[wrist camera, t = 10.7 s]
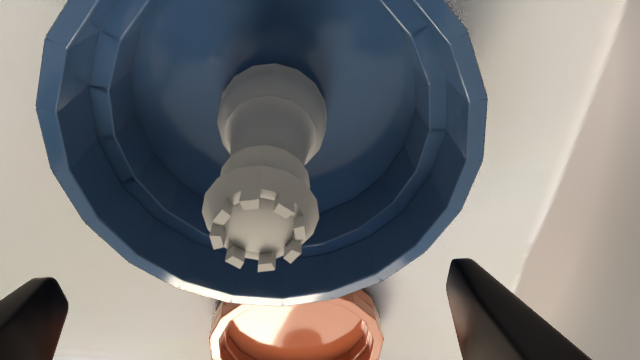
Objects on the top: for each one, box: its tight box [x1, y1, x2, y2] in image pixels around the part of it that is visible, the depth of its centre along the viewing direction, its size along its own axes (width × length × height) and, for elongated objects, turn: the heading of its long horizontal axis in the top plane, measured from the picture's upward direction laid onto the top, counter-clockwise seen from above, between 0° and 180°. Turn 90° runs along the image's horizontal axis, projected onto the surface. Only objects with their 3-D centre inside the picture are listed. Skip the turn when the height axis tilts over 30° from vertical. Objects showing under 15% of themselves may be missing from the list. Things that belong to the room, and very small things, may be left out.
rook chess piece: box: [202, 63, 327, 272], centre depth 14 cm, size 4×4×8 cm
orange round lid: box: [209, 289, 384, 360], centre depth 25 cm, size 10×10×2 cm
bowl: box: [36, 0, 488, 307], centre depth 16 cm, size 14×14×5 cm
